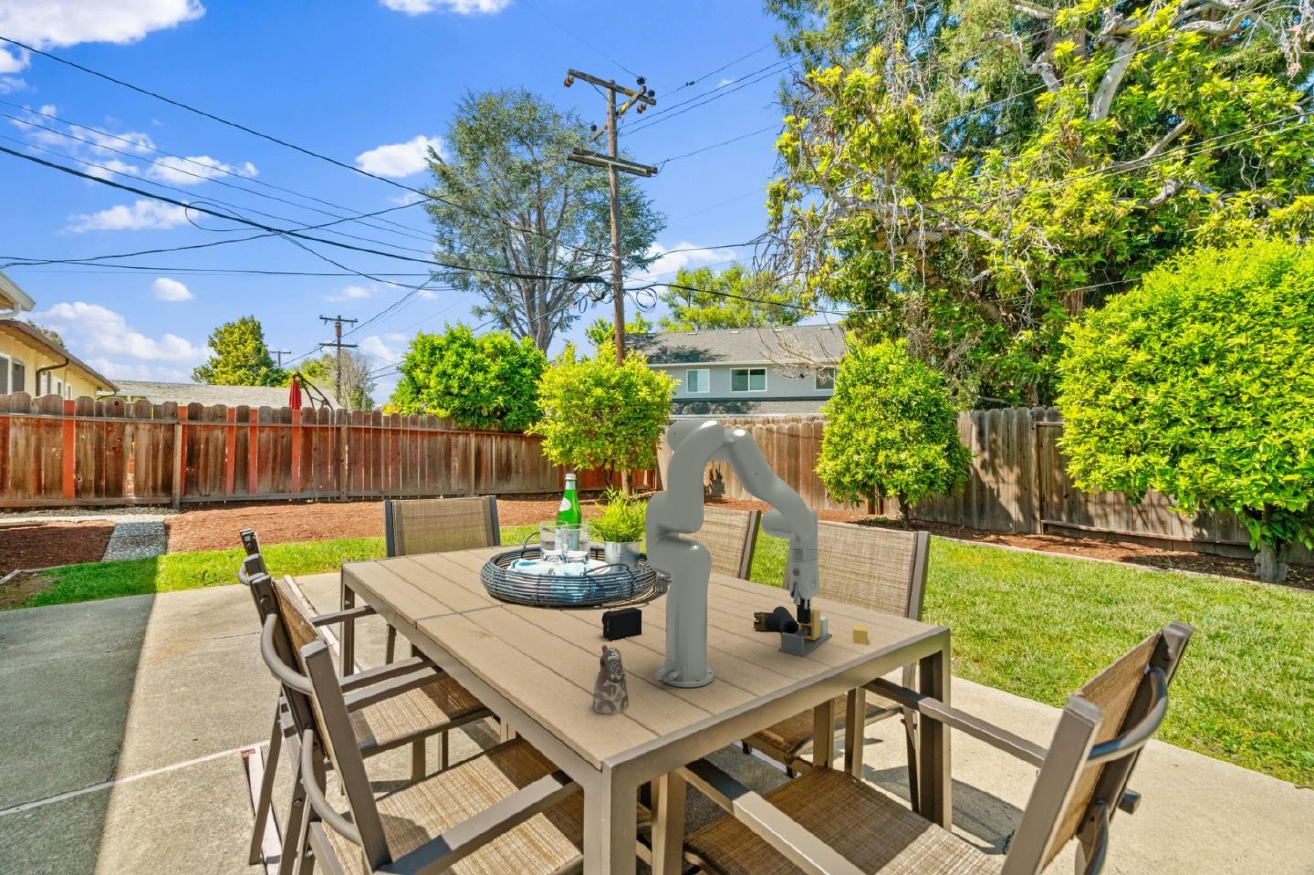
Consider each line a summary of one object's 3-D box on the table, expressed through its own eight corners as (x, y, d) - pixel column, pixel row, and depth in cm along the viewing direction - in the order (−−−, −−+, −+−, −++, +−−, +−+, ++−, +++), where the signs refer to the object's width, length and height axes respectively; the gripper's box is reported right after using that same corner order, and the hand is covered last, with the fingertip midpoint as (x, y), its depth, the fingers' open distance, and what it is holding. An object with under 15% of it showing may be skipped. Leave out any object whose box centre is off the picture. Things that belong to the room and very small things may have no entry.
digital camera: (631, 629, 170) (631, 605, 170) (642, 634, 165) (642, 609, 165) (600, 636, 163) (600, 611, 164) (610, 641, 159) (610, 616, 159)
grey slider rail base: (804, 656, 148) (804, 636, 148) (778, 650, 152) (778, 630, 152) (832, 636, 164) (832, 617, 164) (808, 631, 168) (808, 613, 168)
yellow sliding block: (814, 640, 157) (814, 613, 157) (798, 636, 159) (798, 610, 159) (820, 635, 160) (820, 609, 160) (805, 632, 163) (805, 607, 163)
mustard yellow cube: (867, 644, 157) (867, 631, 158) (853, 643, 158) (853, 630, 159) (866, 639, 162) (866, 626, 162) (852, 638, 163) (852, 625, 163)
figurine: (604, 717, 114) (604, 656, 114) (586, 704, 120) (587, 646, 120) (634, 708, 118) (634, 648, 118) (616, 696, 124) (616, 639, 124)
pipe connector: (759, 619, 163) (751, 604, 178) (759, 638, 163) (750, 622, 178) (800, 620, 163) (789, 606, 178) (800, 639, 162) (788, 623, 177)
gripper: (805, 560, 148) (806, 632, 148) (827, 551, 160) (827, 618, 160) (778, 556, 153) (778, 627, 153) (801, 548, 165) (801, 614, 165)
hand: (803, 622), depth 156 cm, fingers closed
